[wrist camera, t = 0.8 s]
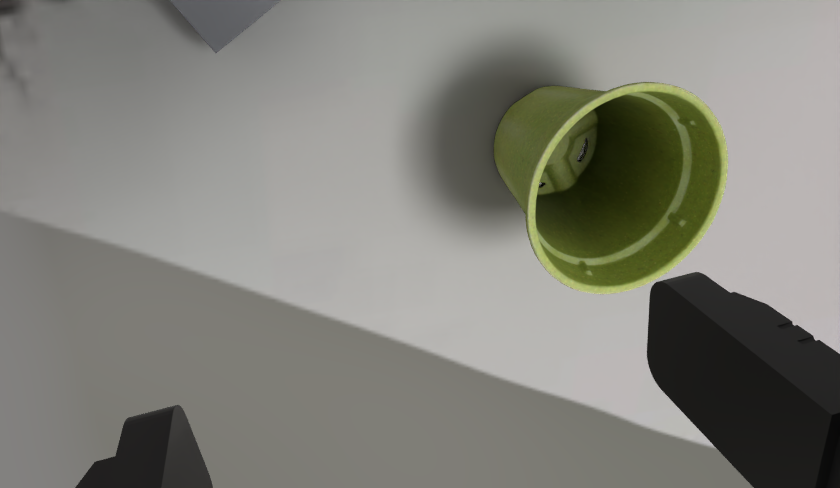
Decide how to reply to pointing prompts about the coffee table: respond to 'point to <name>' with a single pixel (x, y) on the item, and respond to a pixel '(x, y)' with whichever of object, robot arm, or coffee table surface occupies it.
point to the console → (222, 17)
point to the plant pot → (613, 179)
